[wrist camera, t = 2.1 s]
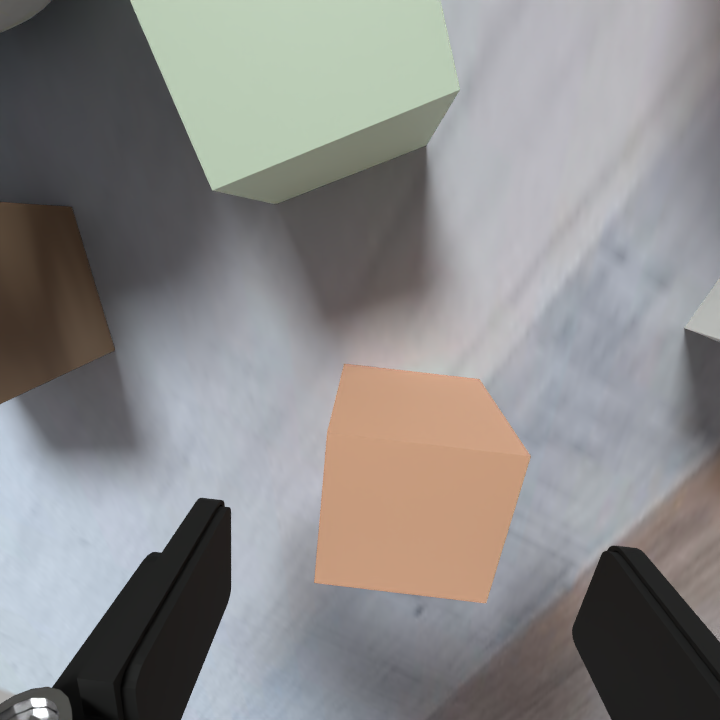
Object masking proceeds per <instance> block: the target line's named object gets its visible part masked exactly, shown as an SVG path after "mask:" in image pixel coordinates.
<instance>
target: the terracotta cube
mask: <svg viewBox="0 0 720 720" xmlns="http://www.w3.org/2000/svg"><path fill="white" fill-rule="evenodd" d="M530 457H531V456H530V454H529V453H528V451H527V450H526V448H525V447H524V445H523V444H522V442H521V441H520V439H519V438H518V436H517V435H516V433H515V432H514V430H513V429H512V427H511V426H510V424H509V423H508V421H507V420H506V418H505V417H504V415H503V414H502V412H501V411H500V409H499V408H498V406H497V405H496V403H495V402H494V400H493V399H492V397H491V396H490V394H489V393H488V391H487V390H486V388H485V387H484V385H483V384H482V382H481V381H480V379H473V378H464V377H456V376H447V375H438V374H430V373H421V372H412V371H403V370H395V369H386V368H377V367H369V366H360V365H351V364H344V367H343V371H342V375H341V379H340V383H339V387H338V391H337V395H336V399H335V403H334V407H333V411H332V415H331V419H330V423H329V427H328V431H327V441H326V452H325V464H324V476H323V487H322V499H321V510H320V522H319V533H318V545H317V556H316V568H315V580H314V583H320V584H328V585H337V586H345V587H353V588H362V589H370V590H379V591H387V592H395V593H404V594H412V595H421V596H429V597H437V598H446V599H454V600H463V601H471V602H479V603H486V602H487V599H488V595H489V592H490V589H491V585H492V582H493V579H494V576H495V572H496V569H497V566H498V562H499V559H500V556H501V553H502V549H503V546H504V543H505V539H506V536H507V533H508V530H509V526H510V523H511V520H512V516H513V513H514V510H515V507H516V503H517V500H518V497H519V493H520V490H521V487H522V484H523V480H524V477H525V474H526V470H527V467H528V464H529V461H530Z"/></svg>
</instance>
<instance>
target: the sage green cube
mask: <svg viewBox="0 0 720 720" xmlns="http://www.w3.org/2000/svg"><path fill="white" fill-rule="evenodd" d="M130 1H131V4H132V6H133V8H134V11H135V13H136V15H137V18H138V20H139V22H140V25H141V27H142V29H143V31H144V34H145V36H146V38H147V41H148V43H149V45H150V48H151V50H152V52H153V55H154V57H155V59H156V62H157V64H158V66H159V69H160V71H161V73H162V75H163V78H164V80H165V82H166V85H167V87H168V89H169V92H170V94H171V96H172V99H173V101H174V103H175V106H176V108H177V110H178V113H179V115H180V117H181V119H182V122H183V124H184V126H185V129H186V131H187V133H188V136H189V138H190V140H191V143H192V145H193V147H194V150H195V152H196V154H197V157H198V159H199V161H200V163H201V166H202V168H203V170H204V173H205V175H206V177H207V180H208V182H209V184H210V187H211V189H212V191H217V192H221V193H226V194H230V195H235V196H240V197H244V198H249V199H253V200H258V201H263V202H267V203H272V204H278V203H280V202H283V201H286V200H288V199H291V198H293V197H296V196H298V195H301V194H303V193H306V192H309V191H311V190H314V189H316V188H319V187H321V186H324V185H327V184H329V183H332V182H334V181H337V180H339V179H342V178H344V177H347V176H350V175H352V174H355V173H357V172H360V171H362V170H365V169H368V168H370V167H373V166H375V165H378V164H380V163H383V162H385V161H388V160H391V159H393V158H396V157H398V156H401V155H403V154H406V153H409V152H411V151H414V150H416V149H419V148H421V147H424V146H426V145H427V144H428V142H429V140H430V139H431V137H432V135H433V134H434V132H435V130H436V129H437V127H438V125H439V124H440V122H441V120H442V119H443V117H444V115H445V114H446V112H447V110H448V109H449V107H450V105H451V104H452V102H453V100H454V99H455V97H456V95H457V94H458V92H459V90H460V87H459V83H458V78H457V74H456V69H455V64H454V60H453V55H452V51H451V46H450V42H449V37H448V33H447V28H446V23H445V19H444V14H443V10H442V5H441V1H440V0H130Z"/></svg>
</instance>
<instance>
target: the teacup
mask: <svg viewBox="0 0 720 720" xmlns="http://www.w3.org/2000/svg"><path fill="white" fill-rule="evenodd" d="M51 1H52V0H0V33H1V32H3V31H6V30H9V29H11V28H13V27H15V26H17V25H19V24H21V23H23V22H25V21H27V20H29V19H31V18H32V17H33V16H35V15H36V14H37V13H39V12H40V11H41V10H43V9H44V8H45V7H46V6H47V5H48V4H49V3H50V2H51Z"/></svg>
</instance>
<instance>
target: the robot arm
mask: <svg viewBox="0 0 720 720" xmlns="http://www.w3.org/2000/svg"><path fill="white" fill-rule="evenodd" d="M230 592H231V509H230V508H229V507H225V506H224V501H222V500H215V499H207V498H199V499H198V500H197V501H196V503H195V504H194V506H193V507H192V509H191V510H190V512H189V513H188V515H187V516H186V518H185V519H184V520H183V522H182V523H181V525H180V526H179V528H178V529H177V531H176V532H175V534H174V535H173V537H172V538H171V540H170V541H169V543H168V544H167V546H166V547H165V549H164V550H163V552H162V553H159V552H152V553H151V554H149V555H148V556H147V557H146V558H145V559H144V560H143V562H142V563H141V564H140V566H139V567H138V569H137V570H136V571H135V573H134V574H133V576H132V577H131V578H130V580H129V581H128V582H127V584H126V585H125V587H124V588H123V589H122V591H121V592H120V594H119V595H118V596H117V598H116V599H115V601H114V602H113V603H112V605H111V606H110V608H109V609H108V610H107V612H106V613H105V615H104V616H103V617H102V619H101V620H100V622H99V623H98V624H97V626H96V627H95V629H94V630H93V631H92V633H91V634H90V636H89V637H88V638H87V640H86V641H85V643H84V644H83V645H82V647H81V648H80V650H79V651H78V652H77V654H76V655H75V656H74V658H73V659H72V661H71V662H70V663H69V665H68V666H67V668H66V669H65V670H64V672H63V673H62V675H61V676H60V677H59V679H58V680H57V682H56V683H55V684H54V686H53V687H52V688H50V687H43V688H35V689H30V690H28V691H25V692H22V693H20V694H17V695H14V696H13V697H11V698H9V699H8V700H6V701H4V702H3V703H1V704H0V720H181V718H182V716H183V713H184V711H185V708H186V706H187V703H188V701H189V698H190V696H191V693H192V691H193V688H194V686H195V683H196V681H197V678H198V676H199V673H200V671H201V668H202V666H203V663H204V661H205V658H206V656H207V653H208V651H209V648H210V646H211V644H212V641H213V639H214V636H215V634H216V631H217V629H218V626H219V624H220V621H221V619H222V616H223V614H224V611H225V609H226V606H227V604H228V601H229V597H230ZM572 635H573V640H574V643H575V646H576V648H577V650H578V652H579V654H580V656H581V658H582V660H583V662H584V664H585V666H586V668H587V670H588V672H589V674H590V676H591V678H592V681H593V683H594V685H595V687H596V689H597V691H598V693H599V695H600V697H601V699H602V701H603V703H604V705H605V707H606V709H607V711H608V713H609V715H610V717H611V719H612V720H720V642H719V641H718V640H717V638H716V637H715V636H714V635H713V634H712V632H711V631H710V630H709V629H708V628H707V627H706V625H705V624H704V623H703V622H702V621H701V620H700V618H699V617H698V616H697V615H696V614H695V612H694V611H693V610H692V609H691V608H690V607H689V605H688V604H687V603H686V602H685V601H684V599H683V598H682V597H681V596H680V595H679V594H678V592H677V591H676V590H675V589H674V588H673V586H672V585H671V584H670V583H669V582H668V581H667V579H666V578H665V577H664V576H663V575H662V574H661V572H660V571H659V570H658V569H657V568H656V566H655V565H654V564H653V563H652V562H651V561H650V559H649V558H648V557H647V556H646V555H645V554H644V553H643V552H642V551H641V550H639V549H637V548H630V547H622V546H611V547H609V549H608V550H607V551H605V552H603V553H602V555H601V557H600V560H599V562H598V565H597V567H596V570H595V572H594V575H593V577H592V580H591V582H590V585H589V587H588V590H587V592H586V595H585V597H584V600H583V602H582V605H581V607H580V610H579V612H578V615H577V617H576V620H575V622H574V625H573V629H572Z"/></svg>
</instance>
